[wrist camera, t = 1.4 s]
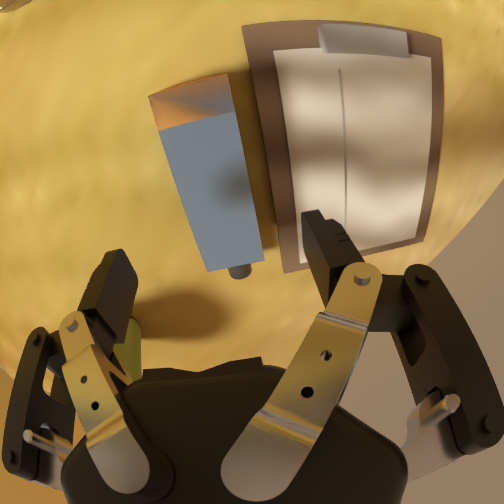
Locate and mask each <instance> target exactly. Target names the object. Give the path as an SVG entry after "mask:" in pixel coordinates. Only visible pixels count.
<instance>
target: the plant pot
mask: <svg viewBox="0 0 504 504" xmlns="http://www.w3.org/2000/svg"><path fill="white" fill-rule="evenodd" d="M113 349H114V350H115V351H116V353H117V354H118V356H119V358H120V360H121V362H122V363H123V365H124V367H125V369H126V370H127V372H128V374H129V376H130V377H131V379H132V380H133V382H134V381H136V380H138V379H141V378H142V371H141V329H140V326H139V324H138V323H137V322H136V321H135V320H134V319H133V318H130V319H129V324H128V328H127V332H126V337H125V342H124V343H123V344H114V347H113Z"/></svg>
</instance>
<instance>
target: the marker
mask: <svg viewBox="0 0 504 504" xmlns="http://www.w3.org/2000/svg"><path fill="white" fill-rule="evenodd" d="M148 97H149V101H150V104H151V107H152V111H153V114H154V118H155V121H156V124H157V128H158V131H159V134H160V138H161V141H162V144H163V147H164V150H165V153H166V157H167V160H168V163H169V166H170V169H171V172H172V175H173V178H174V181H175V184H176V187H177V190H178V193H179V196H180V198H181V201H182V204H183V207H184V210H185V213H186V216H187V218H188V221H189V224H190V227H191V229H192V232H193V235H194V238H195V240H196V243H197V246H198V248H199V251H200V254H201V256H202V259H203V261H204V264H205V267H206V269H207V272H210V271H215V270H220V269H225V268H228V271H229V274H230V276H231V277H232V278H234V279H243V278H246V277H247V276H249V275H250V273H251V271H252V268H251V264H250V263H255V262H259V261H264V260H265V259H264V254H263V249H262V243H261V238H260V233H259V228H258V223H257V217H256V212H255V207H254V202H253V197H252V192H251V187H250V182H249V177H248V172H247V167H246V162H245V157H244V152H243V147H242V142H241V137H240V132H239V127H238V122H237V118H236V113H235V108H234V103H233V98H232V94H231V89H230V84H229V79H228V75H227V74H226V73H225V74H220V75H215V76H211V77H207V78H202V79H198V80H194V81H191V82H187V83H183V84H180V85H176V86H173V87H170V88H166V89H163V90H161V91H159V92H156V93H154V94H152V95H150V96H148Z"/></svg>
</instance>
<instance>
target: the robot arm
mask: <svg viewBox="0 0 504 504" xmlns="http://www.w3.org/2000/svg"><path fill="white" fill-rule="evenodd" d="M29 1H30V0H0V12H9V11H13V10H15V9H17V8H19V7H21V6H23V5H24V4H26V3H27V2H29ZM301 227H302V242H303V249H304V253H305V256H306V259H307V261H308V264H309V267H310V269H311V272H312V274H313V277H314V279H315V282H316V285H317V287H318V290H319V293H320V295H321V298H322V301H323V304H324V306H325V311H324V312H323V313H322V312H319V313H318V314H317V316H316V317H315V319H314V321H313V323H312V325H311V327H310V329H309V331H308V332H307V334H306V336H305V338H304V340H303V342H302V343H301V345H300V347H299V349H298V351H297V352H296V354H295V356H294V358H293V359H292V361H291V363H290V365H289V366H288V368H287V369H284V368H281V367H277V366H272V365H263V362H262V359H261V357H255V358H249V359H242V360H235V361H229V362H226V363H224V364H221V365H218V366H215V367H213V368H210V369H207V370H204V371H201V372H192V371H185V370H179V369H173V368H157V369H143V375H142V378H141V379H138V380H136V381H134V382H133V380H132V379H131V377H130V376H129V374H128V372H127V370H126V369H125V367H124V365H123V363H122V362H121V360H120V358H119V356H118V354H117V353H116V351H115V350H114V349H113V347H114V344H123V343H124V342H125V337H126V332H127V328H128V324H129V319H130V315H131V311H132V307H133V303H134V299H135V295H136V292H137V288H138V278H137V274H136V272H135V270H134V269H133V267H132V265H131V263H130V261H129V259H128V257H127V256H126V254H125V252H124V251H123V250H122V249H117V250H112V251H108V252H106V253H105V255H104V257H103V259H102V262H101V264H100V265H99V266H98V267H97V268H96V269H95V271H94V272H93V273H92V276H91V278H90V280H89V281H90V282H88V285H87V287H86V288H87V289H85V292H84V294H83V297H82V299H81V302H80V304H79V307H78V309H77V311H74V312H72V313H70V314H68V315H67V316H66V317H65V318H64V319H63V320H62V322H61V324H60V327H59V330H57V331H55V332H53V333H50V334H49V333H48V332H47V331H46V329H45V328H43V327H38V328H36V329H34V330H33V331H32V332H31V334H30V335H29V337H28V339H27V341H26V344H25V347H24V350H23V353H22V356H21V359H20V363H19V366H18V369H17V373H16V377H15V380H14V384H13V389H12V393H11V397H10V401H9V406H8V411H7V417H6V423H5V430H4V437H3V446H2V461H3V464H4V467H5V468H6V470H7V471H8V472H9V473H12V474H14V475H16V476H19V477H21V478H24V479H25V480H27V481H30V482H33V483H35V484H39V485H42V486H45V487H51V488H54V489H58V490H62V491H63V492H64V494H65V497H66V499H67V502H68V504H400V503H401V499H402V496H403V493H404V490H405V487H406V484H407V483H408V482H410V481H412V480H415V479H417V478H420V477H422V476H424V475H427V474H429V473H431V472H433V471H435V470H437V469H439V468H441V467H443V466H445V465H447V464H449V463H451V462H454V461H457V460H460V459H463V458H465V457H468V456H470V455H473V454H476V453H478V452H480V451H483V450H485V449H487V448H489V447H491V446H494V445H495V444H496V443H497V442H499V440H500V439H501V438H502V436H503V434H504V406H503V403H502V400H501V397H500V395H499V392H498V389H497V387H496V384H495V382H494V379H493V377H492V374H491V372H490V369H489V367H488V365H487V362H486V360H485V358H484V356H483V354H482V352H481V350H480V348H479V346H478V343H477V341H476V339H475V337H474V335H473V334H472V332H471V330H470V328H469V326H468V324H467V322H466V320H465V318H464V317H463V315H462V313H461V311H460V310H459V308H458V306H457V304H456V303H455V301H454V299H453V298H452V296H451V294H450V293H449V291H448V290H447V288H446V286H445V285H444V283H443V282H442V280H441V278H440V277H439V275H438V274H437V273H436V271H435V270H433V269H432V268H430V267H429V266H426V265H423V264H414V265H411V266H409V267H408V268H407V269H406V271H405V273H404V275H385V274H381V272H380V271H379V269H378V268H376V267H375V266H374V265H371V264H369V263H365V261H364V259H363V258H362V256H361V254H360V253H359V251H358V250H357V248H356V246H355V245H354V243H353V242H352V240H351V238H350V237H349V235H348V234H347V233H346V231H345V229H344V228H343V226H342V224H340V223H338V222H337V221H335V220H334V219H327V220H325V218H324V217H323V215H322V214H321V212H320V210H319V209H316V210H310V211H305V212H301ZM370 331H371V332H390V333H391V335H392V338H393V340H394V343H395V345H396V348H397V350H398V353H399V356H400V359H401V361H402V364H403V367H404V370H405V373H406V376H407V379H408V382H409V385H410V388H411V391H412V394H413V397H414V400H415V404H416V407H415V408H414V409H413V410H412V411H411V412H410V414H409V416H408V419H407V437H406V440H405V442H404V444H403V446H402V447H401V448H399V447H398V446H397V445H396V444H395V443H394V442H392V441H391V440H389V439H388V438H386V437H385V436H383V435H382V434H380V433H379V432H377V431H375V430H374V429H373V428H371V427H370V426H368V425H367V424H365V423H364V422H362V421H361V420H359V419H358V418H356V417H355V416H353V415H352V414H351V413H349V412H348V411H346V410H345V409H343V408H342V407H341V406H339V403H340V401H341V399H342V397H343V395H344V392H345V390H346V388H347V385H348V383H349V381H350V378H351V376H352V373H353V370H354V368H355V366H356V363H357V360H358V358H359V355H360V353H361V350H362V348H363V345H364V342H365V339H366V337H367V334H368V332H370ZM46 367H47V368H48V369H49V370H50V371H51V372H52V373H54V374H55V375H54V379H53V384H52V389H51V394H50V396H48V395H47V394H46V393H45V392H44V390H43V379H44V375H45V371H46ZM75 412H77V414H78V417H79V419H80V422H81V424H82V426H83V428H84V431H85V433H86V434H85V435H84V437H83V438H82V439H81V440H80V442H79V443H78V444H77V445H76V447H75V448H74V449H73V447H72V444H73V431H74V421H75Z"/></svg>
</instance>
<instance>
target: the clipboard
mask: <svg viewBox="0 0 504 504" xmlns="http://www.w3.org/2000/svg"><path fill="white" fill-rule="evenodd" d="M242 32H243V37H244V42H245V46H246V51H247V56H248V61H249V66H250V71H251V76H252V81H253V87H254V92H255V97H256V103H257V108H258V114H259V119H260V125H261V130H262V136H263V142H264V148H265V154H266V160H267V166H268V172H269V178H270V185H271V191H272V197H273V204H274V210H275V217H276V224H277V231H278V238H279V245H280V252H281V259H282V267H283V272H284V274H285V273H289V272H294V271H299V270H304V269H308V268H310V267H309V264H308V261H307V259H306V256H305V253H304V249H303V242H302V227H301V212H305V211H310V210H316V209H319V210H320V212H321V214H322V215H323V217H324V218H325V220H327V219H334V220H335V221H337V222H338V223H340V224H342V226H343V228H344V229H345V231H346V233H347V234H348V235H349V237H350V238H351V240H352V242H353V243H354V245H355V246H356V248H357V250H358V251H359V253H360V254H361V256H366V255H370V254H374V253H378V252H383V251H387V250H391V249H395V248H399V247H403V246H407V245H411V244H415V243H419V242H423V240H424V236H425V232H426V228H427V224H428V219H429V215H430V210H431V205H432V200H433V195H434V189H435V183H436V177H437V170H438V163H439V155H440V146H441V134H442V119H443V67H442V52H441V41H440V38H439V37H436V36H432V35H428V34H425V33H420V32H416V31H412V30H407V29H402V28H396V27H391V26H384V25H377V24H369V23H360V22H348V21H327V20H301V21H281V22H268V23H259V24H251V25H243V26H242Z"/></svg>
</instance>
